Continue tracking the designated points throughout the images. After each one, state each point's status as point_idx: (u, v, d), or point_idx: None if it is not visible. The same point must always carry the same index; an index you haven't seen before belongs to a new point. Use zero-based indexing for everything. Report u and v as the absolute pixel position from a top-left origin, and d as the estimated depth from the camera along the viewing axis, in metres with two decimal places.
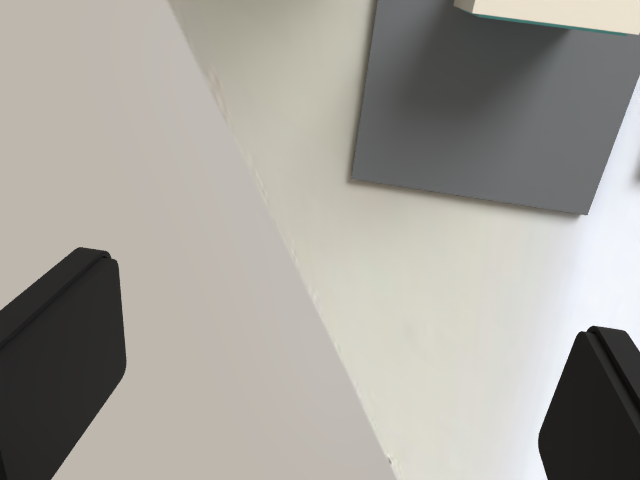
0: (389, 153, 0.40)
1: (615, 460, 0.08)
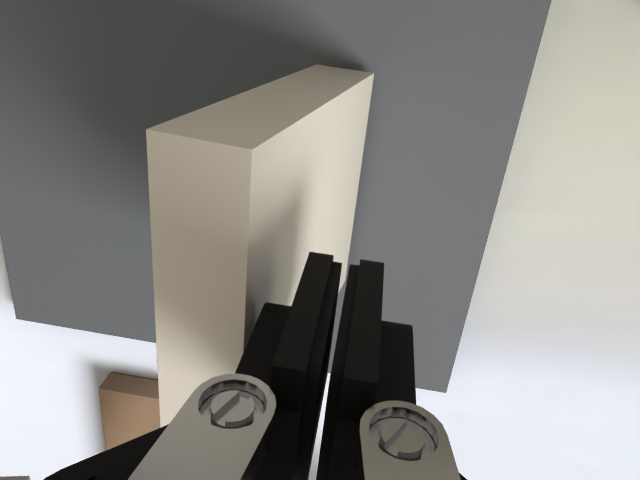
0: None
1: None
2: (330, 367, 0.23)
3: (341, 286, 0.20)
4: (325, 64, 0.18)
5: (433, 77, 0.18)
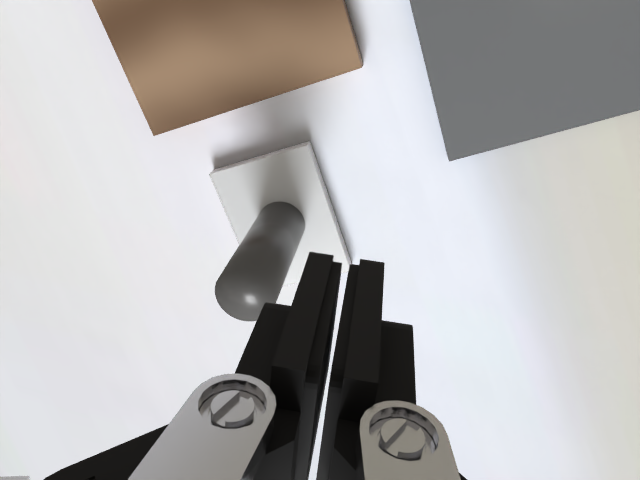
0: None
1: None
2: (431, 62, 0.26)
3: None
4: None
5: None
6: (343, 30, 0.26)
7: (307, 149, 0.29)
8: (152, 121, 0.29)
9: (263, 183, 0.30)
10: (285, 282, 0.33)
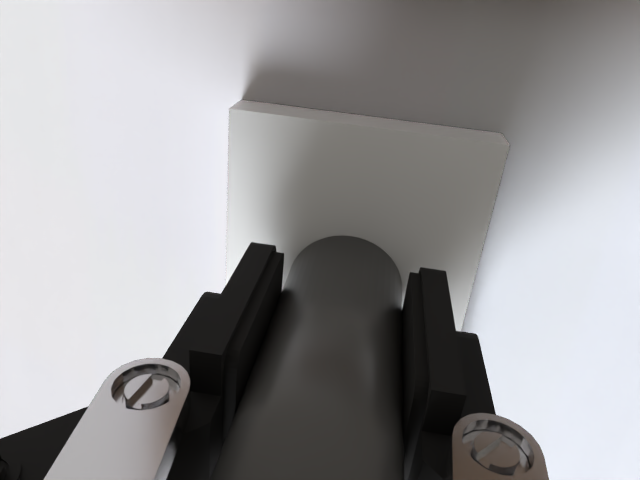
0: None
1: (406, 370, 0.09)
2: None
3: None
4: None
5: None
6: None
7: (504, 155, 0.11)
8: None
9: (351, 187, 0.12)
10: None
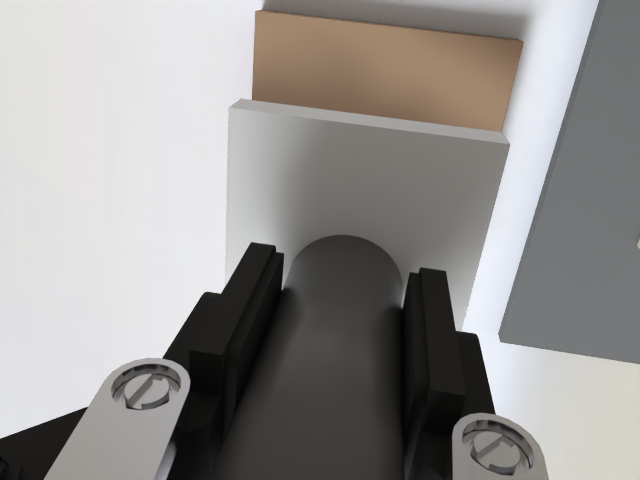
0: None
1: (406, 370, 0.09)
2: (530, 264, 0.28)
3: None
4: None
5: None
6: None
7: (504, 154, 0.11)
8: None
9: (351, 186, 0.12)
10: None
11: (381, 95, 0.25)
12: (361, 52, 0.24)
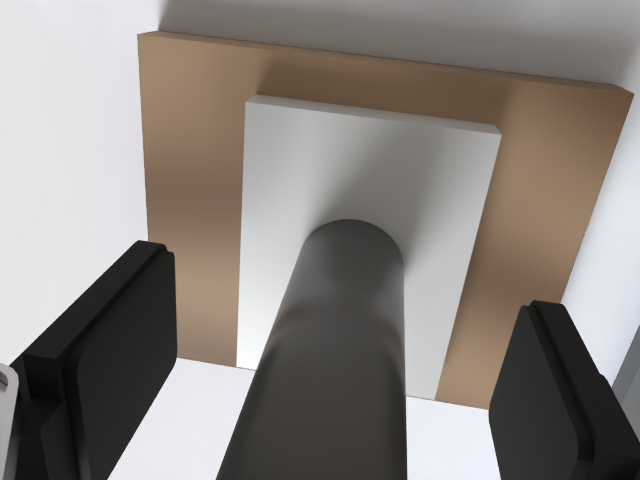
0: None
1: (542, 418, 0.08)
2: None
3: None
4: None
5: None
6: None
7: (496, 144, 0.12)
8: None
9: (357, 174, 0.13)
10: None
11: None
12: None
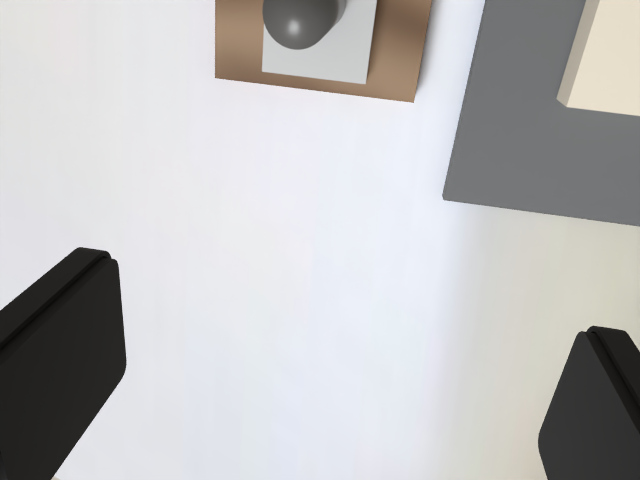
0: None
1: (615, 460, 0.08)
2: (465, 122, 0.32)
3: (570, 96, 0.28)
4: None
5: None
6: (413, 68, 0.30)
7: None
8: (220, 65, 0.32)
9: None
10: (294, 71, 0.30)
11: None
12: None
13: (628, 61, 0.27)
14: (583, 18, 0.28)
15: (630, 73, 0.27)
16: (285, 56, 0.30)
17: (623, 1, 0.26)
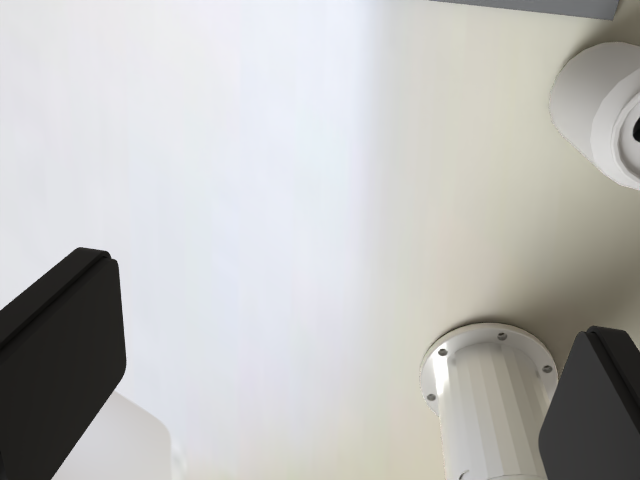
0: None
1: (615, 460, 0.08)
2: None
3: None
4: None
5: None
6: None
7: None
8: None
9: None
10: None
11: None
12: None
13: None
14: None
15: None
16: None
17: None
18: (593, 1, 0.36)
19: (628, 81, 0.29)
